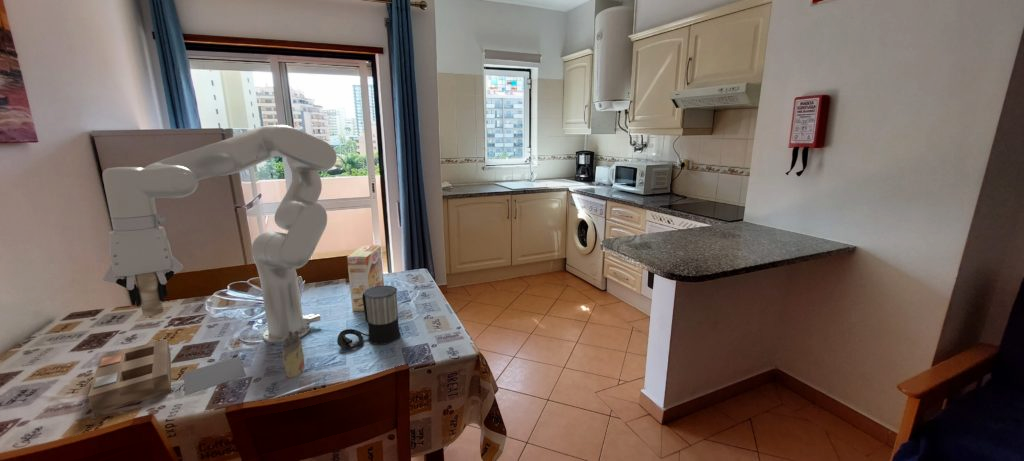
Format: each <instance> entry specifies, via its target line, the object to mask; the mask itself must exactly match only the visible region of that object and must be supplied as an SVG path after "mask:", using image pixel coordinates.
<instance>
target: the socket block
mask: <svg viewBox="0 0 1024 461" xmlns="http://www.w3.org/2000/svg"><path fill="white" fill-rule="evenodd" d="M171 356H172V354H171V350H170V345H169V340H168V339H167V338H166V339H165V338H164V339H163V340H162V339H161V340H158V341H154V342H150V343H145V344H142V345H138V346H134V347H130V348H129V347H128V348H125V349H121V350H120V349H119V350H118V351H112V352H108V353H105V354H101V355H100V357H99V360H98V363H97V367H96V370H95V372H94V373H95V374H94V376H93V379H92V383H91V385H90V386H91V387H90V389H89V392H88V396H87V398H88V401H89V406H90V408H91V412H92V414H93V417H94V418H95V417H98V415H99V416H101V414H102V415H103V414H104V413H106V412H109V411H113V410H117V409H119V408H122V407H127V406H129V405H131V404H133V405H134V404H135V403H139V402H142V401H145V400H148V399H151V398H154V397H158V396H162V395H164V394H168V393H170V392H172V359H171V358H172V357H171Z"/></svg>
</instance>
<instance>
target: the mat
mask: <svg viewBox="0 0 1024 461" xmlns="http://www.w3.org/2000/svg"><path fill="white" fill-rule="evenodd" d="M246 376H247V375H246V371H245V367H244V365H243V362H242V360H241V356H236V357H232V358H230V359H226V360H223V361H220V362H219V361H218V362H216V363H213V364H208V365H205V366H202V367H198V368H195V369H192V370H188V371H185V372H183V384H184V396H189V395H190V394H194V393H197V392H199V391H202V390H207V389H209V388H213V387H215V386H218V385H222V384H225V383H228V382H231V381H234V380H238V379H240V378H245V377H246Z"/></svg>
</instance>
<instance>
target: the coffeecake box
mask: <svg viewBox="0 0 1024 461" xmlns="http://www.w3.org/2000/svg"><path fill="white" fill-rule="evenodd" d="M346 260H347V270H348V279H349V280H348V281H349V289H350V300H351V308H352V312H353V311H354V312H364V306H363V299H362V297H363V293H364V292H365V291H366V290H367V289H369V288H372V287H376V286H383V285H384V286H385V282H384V270H383V269H384V268H383V257H382V245H379V244H378V245H376V244H375V245H374V244H367V245H362V246H360V247H359V248H357V249H356V250H355V251H353V252H352V253H350V254H349V255H347V256H346Z"/></svg>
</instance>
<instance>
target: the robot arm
mask: <svg viewBox="0 0 1024 461" xmlns="http://www.w3.org/2000/svg"><path fill="white" fill-rule="evenodd" d="M334 148H335V147H333V146H332V145H331V144H330V143H328V142H327V141H324V140H322V139H320V138H319V137H315V136H314V135H311V134H309V133H307V132H305V131H302V130H300V129H298V128H296V127H294V126H290V125H287V124H286V125H285V124H277V125H276V124H275V125H273V124H272V125H270V124H269V125H263V126H259V127H256V128H254V129H251V130H247V131H244V132H243V133H242V132H241V133H240V134H237V135H235V136H231V137H228V138H226V139H223V140H220V141H218V142H214V143H210V144H207V145H203V146H201V147H198V148H195V149H192V150H188V151H185V152H181V153H178V154H174V155H172V156H170V157H167V158H163V159H161V160H159V161H155V162H153V163H150V164H148V165H146V166H145V167H141V166H140V167H139V166H119V167H118V166H116V167H108V168H106V169H104V170H103V172H102V182H103V185H104V190H105V191H104V192H105V196H106V200H107V201H106V202H107V206H108V210H109V211H108V212H109V216H110V221H111V225H112V231H109V233H108V234H109V235H108V247H109V248H108V249H109V257H110V258H109V259H110V265H109V267H108V269H107V271H106V273H105V274H104V276H103V281H105V282H109V283H113V284H117V285H118V286H121V287H123V288H125V289H127V290H128V291H129V296H130V300H131V304H132V303H135V305H136V306H135V307H141V302H140V297H139V292H138V288H137V283H135V280H136V278H135V276H136V275H140V274H144V273H155V272H156V273H157V279H158V284H159V285H158V289H159V295H160V300H161V301H162V303H164V302H166V298H165V297H168V296H169V294H168V286H167V283H168V282H169V281H170V279H171V278H173V276H174V275H175V274H177V273H179V272H181V271H183V269H184V265H183V264H182V263H181V262H180V261H178V259H177V258H175V256H173V253H172V249H171V248H172V247H171V245H170V241H169V236H168V234H167V232H166V230H165V227H164V226H162V225H161V226H160V224H161V223H166V222H167V217H166V215H159V214H158V212H157V207H156V202H155V199H156V198H157V199H168V198H169V199H178V198H179V199H180V198H185V197H189V196H190V195H192V194H193V193H194V192H195V191H197V188H198V186H199V181H201V180H205V179H209V178H212V177H220V176H222V177H223V176H229V175H234V174H237V173H240V172H243V171H245V170H248V169H250V168H252V167H254V166H256V165H259V164H261V163H263V162H265V161H268V160H270V159H272V158H276V157H281V158H286V161H287V164H288V165H289V168H290V172H291V176H292V178H291V182H290V185H289V187H288V189H287V191H286V193H285V195H284V196H283V198H282V200H281V201H280V204H279V206H277V208H276V211H275V214H274V222H275V224H276V226H278V227H279V228H280V229H282V230H285V231H287V233H286V232H280V231H268V232H267V231H266V232H263V233H261V234H258V236H257V237H256V238H254V240H253V242H252V246H251V255H252V258H253V261H254V264H255V266H256V269H257V273H258V276H259V281H260V287H261V288H260V289H261V293H262V299H263V306H264V312H265V319H266V324H267V325H266V326H267V329H266V330H265V331H264V332H263V334H262V339H263V341H265V342H267V343H272V344H280V343H285V342H284V340H285V339H286V338H287V337H288V335H289V332H290V331H292V334H294V333H295V331H298V336H299V337H300V338H303V337H304V336H305V335H307V334H308V333H309V332H310V330H311V323H316V322H320V321H321V320H322V319H321V315H320V314H316V315H315V314H314V313H311V314H308V315H304V313H303V308H302V300H301V295H300V286H299V279H298V273H297V269H300V268H302V267H304V266H305V265H306V264H307V263H308V262H309V261H310V259H311V258H312V256H313V254H314V252H315V250H316V248H317V246H318V244H319V242H320V240H321V239H322V236H323V234H324V232H325V230H326V227H327V224H328V214H327V211H326V209H325V207H324V206H323V205H321V204H320V203H318V201H319V198H320V196H321V193H322V180H321V176H320V173H319V172H325V171H328V170H331V169H332V168H333V167H334V166H335V165H336V163H337V157H338V156H337V152H336V150H335V149H334ZM288 338H290V336H289V337H288Z"/></svg>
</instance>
